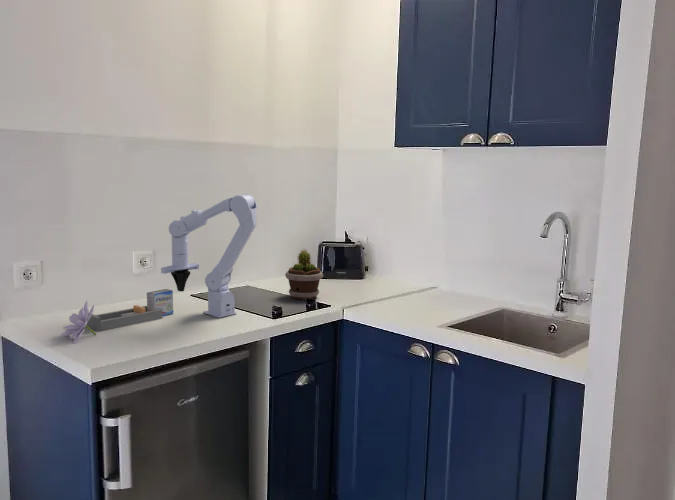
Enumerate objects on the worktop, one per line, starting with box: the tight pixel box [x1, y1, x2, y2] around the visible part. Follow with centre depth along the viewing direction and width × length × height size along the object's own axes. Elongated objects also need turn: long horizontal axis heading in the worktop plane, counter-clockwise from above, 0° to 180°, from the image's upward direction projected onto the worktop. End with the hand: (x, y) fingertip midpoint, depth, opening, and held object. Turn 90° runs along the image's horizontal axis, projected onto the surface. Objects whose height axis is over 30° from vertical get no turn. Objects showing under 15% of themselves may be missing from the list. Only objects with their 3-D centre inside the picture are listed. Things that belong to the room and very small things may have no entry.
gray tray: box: [87, 305, 163, 332], centre depth 200 cm, size 9×23×4 cm, turn 138°
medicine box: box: [146, 288, 174, 317], centre depth 209 cm, size 8×4×9 cm, turn 143°
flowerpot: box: [284, 249, 324, 301], centre depth 240 cm, size 14×15×20 cm
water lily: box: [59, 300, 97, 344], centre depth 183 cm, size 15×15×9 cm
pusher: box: [121, 304, 146, 317], centre depth 201 cm, size 6×7×4 cm
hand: (180, 290), depth 215 cm, fingers closed
